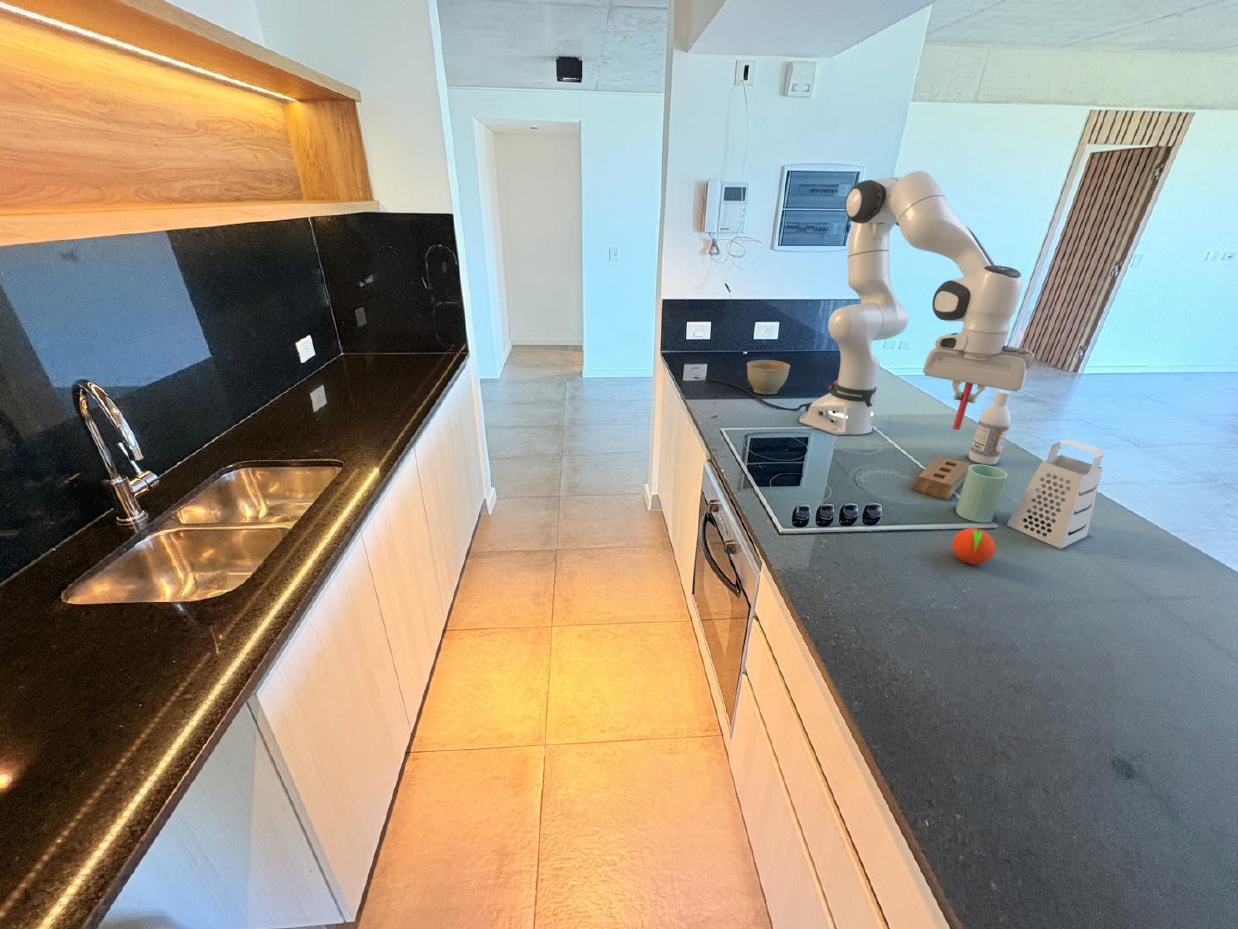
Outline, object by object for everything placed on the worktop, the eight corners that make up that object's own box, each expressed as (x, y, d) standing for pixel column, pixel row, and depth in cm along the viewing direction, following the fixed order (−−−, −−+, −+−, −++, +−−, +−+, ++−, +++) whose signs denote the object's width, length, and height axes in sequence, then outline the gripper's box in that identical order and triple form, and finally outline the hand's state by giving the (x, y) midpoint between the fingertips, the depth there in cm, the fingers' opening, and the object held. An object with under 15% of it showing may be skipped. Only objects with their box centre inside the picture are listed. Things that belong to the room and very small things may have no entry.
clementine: (989, 578, 99) (1000, 546, 96) (947, 567, 102) (956, 535, 99) (989, 557, 105) (999, 527, 102) (949, 547, 109) (958, 517, 106)
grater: (1060, 548, 108) (1097, 459, 100) (1006, 525, 116) (1036, 441, 108) (1086, 535, 112) (1124, 449, 104) (1032, 514, 121) (1063, 432, 112)
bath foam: (989, 467, 144) (1012, 397, 135) (963, 459, 149) (983, 390, 140) (1001, 461, 147) (1024, 392, 139) (975, 453, 152) (995, 386, 144)
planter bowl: (791, 389, 211) (795, 362, 206) (779, 400, 198) (783, 371, 194) (752, 383, 219) (755, 357, 214) (738, 393, 206) (741, 366, 202)
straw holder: (914, 490, 132) (918, 476, 130) (935, 469, 143) (939, 455, 141) (947, 500, 127) (951, 485, 125) (966, 477, 138) (970, 463, 136)
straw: (951, 428, 129) (968, 372, 123) (953, 427, 130) (969, 371, 124) (958, 430, 128) (975, 373, 122) (960, 428, 129) (977, 372, 123)
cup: (951, 514, 121) (964, 471, 116) (960, 503, 125) (973, 461, 121) (988, 526, 116) (1003, 481, 111) (995, 514, 121) (1010, 470, 116)
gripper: (1039, 347, 115) (1019, 407, 121) (937, 334, 128) (922, 389, 134) (1034, 352, 111) (1013, 414, 117) (928, 338, 124) (914, 394, 130)
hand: (964, 400), depth 126 cm, fingers closed on straw, 1 cm apart
